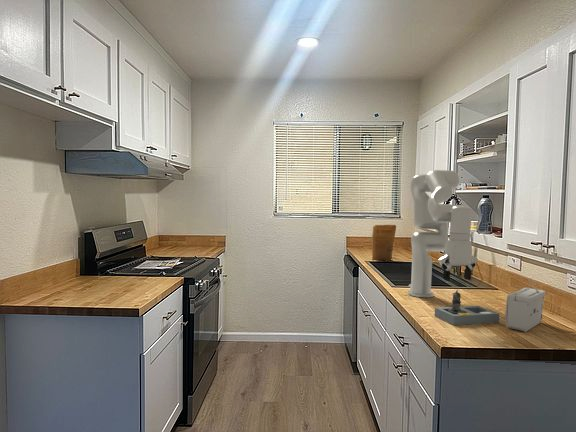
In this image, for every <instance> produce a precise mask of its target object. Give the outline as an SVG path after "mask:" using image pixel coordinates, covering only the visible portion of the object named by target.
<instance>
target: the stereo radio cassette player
mask: <svg viewBox="0 0 576 432" xmlns="http://www.w3.org/2000/svg"><path fill="white" fill-rule="evenodd" d="M527 281H528V282H529V283H530V284H531V285H532V287H533V288H531V287H523V288H521V289H519V290H517V291H514V292H511V293H508V294H507V297H506V300H505V301H506V302H505V303H506V304H505V319H504V320H505V325H506V326H507V327H508V328H509V329H513V330H517V331H522V332H524V333H527V332H528V331H529V330H531V329H533V328H534V327H537V325H539V324H541V323H542V320H543V307H544V304H543V303H544V297H546V294H547V291H546V290H542V289H537V287H536V286H535V285H534V284H533V282H532V281H531V280H530V278H527Z"/></svg>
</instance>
